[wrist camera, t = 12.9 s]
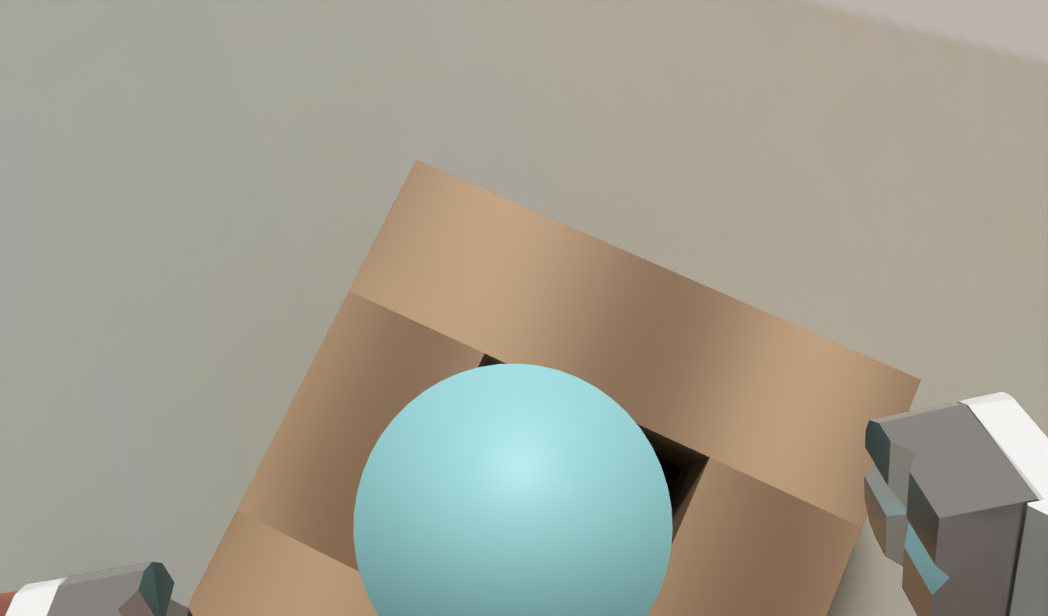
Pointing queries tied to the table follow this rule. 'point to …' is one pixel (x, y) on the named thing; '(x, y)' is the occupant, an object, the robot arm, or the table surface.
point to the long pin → (512, 502)
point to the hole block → (597, 358)
